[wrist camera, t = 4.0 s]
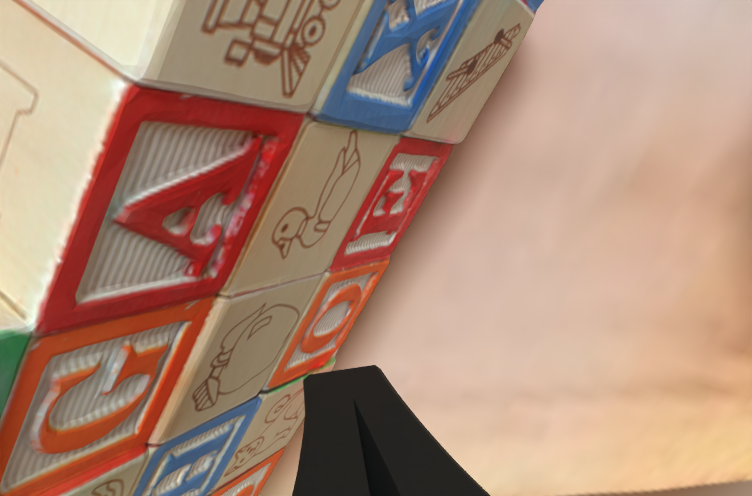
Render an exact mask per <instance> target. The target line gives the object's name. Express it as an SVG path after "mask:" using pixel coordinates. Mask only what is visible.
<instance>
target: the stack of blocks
mask: <svg viewBox="0 0 752 496" xmlns="http://www.w3.org/2000/svg"><path fill="white" fill-rule="evenodd" d="M543 1H544V0H0V496H258V494H259V492H260V491H261V489H262V487H263V486H264V484H265V482H266V480H267V479H268V477H269V475H270V474H271V472H272V470H273V468H274V467H275V465H276V463H277V462H278V460H279V458H280V457H281V455H282V453H283V451H284V449H285V446H286V445H287V444H288V442H289V441H290V439H291V438H292V436H293V435H294V433H295V431H296V430H297V428H298V427H299V425H300V424H301V422H302V421H303V419H304V417H305V404H304V389H303V380H304V379H305V378H306V377H307V376H308V375H310V374H316V373H323V372H330V371H332V369H333V367H334V365H335V362H336V353H337V351H338V349H339V347H340V346H341V345H342V343H343V342H344V341H345V339H346V337H347V335H348V333H349V331H350V329H351V328H352V326H353V324H354V322H355V320H356V318H357V316H358V315H359V313H360V312H361V311H362V309H363V307H364V305H365V304H366V302H367V300H368V298H369V297H370V295H371V293H372V292H373V290H374V288H375V286H376V285H377V283H378V281H379V280H380V278H381V276H382V275H383V273H384V271H385V269H386V268H387V266H388V264H389V261H390V254H391V253H392V251H393V250H394V249H395V247H396V246H397V244H398V242H399V240H400V239H401V237H402V235H403V234H404V232H405V230H406V229H407V227H408V226H409V224H410V222H411V221H412V219H413V217H414V216H415V214H416V212H417V210H418V209H419V207H420V205H421V203H422V202H423V200H424V198H425V196H426V194H427V192H428V190H429V188H430V187H431V185H432V184H433V182H434V181H435V179H436V178H437V176H438V174H439V172H440V170H441V168H442V167H443V165H444V163H445V162H446V160H447V159H448V157H449V155H450V152H451V150H452V146H453V145H454V144H459V143H461V142H462V141H463V140H464V139H465V137H466V135H467V134H468V132H469V130H470V128H471V127H472V125H473V123H474V121H475V120H476V118H477V116H478V115H479V113H480V111H481V109H482V108H483V106H484V104H485V102H486V101H487V99H488V97H489V96H490V94H491V92H492V91H493V89H494V87H495V86H496V84H497V82H498V81H499V79H500V77H501V76H502V74H503V72H504V71H505V69H506V67H507V65H508V64H509V62H510V60H511V59H512V57H513V55H514V54H515V52H516V50H517V49H518V47H519V45H520V44H521V42H522V40H523V38H524V37H525V35H526V33H527V31H528V29H529V27H530V25H531V23H532V21H533V19H534V16H535V13H536V11H537V9H538V8H539V6H540V5H541V3H542V2H543Z"/></svg>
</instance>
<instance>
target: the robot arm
mask: <svg viewBox="0 0 752 496" xmlns="http://www.w3.org/2000/svg"><path fill="white" fill-rule="evenodd" d="M303 389H304V404H305V421H304V433H303V440H302V447H301V453H300V460H299V466H298V472H297V477H296V481H295V486H294V490H293V494H292V496H490V495H489V494H488V493H487V492H486V491H485V490H484V489H483V488H482V487H481V486H480V485H479V484H478V483H477V482H476V481H475V480H474V479H473V478H472V477H471V476H470V475H469V474H468V473H467V472H466V471H465V470H464V469H463V468H462V467H461V466H460V465H459V464H458V463H457V462H456V461H455V460H454V459H453V458H452V457H451V456H450V455H449V454H448V453H447V451H446V450H445V449H444V448H443V447H442V446H441V445H440V444H439V442H438V441H437V440H436V439H435V438H434V437H433V436H432V435H431V433H430V432H429V431H428V430H427V429H426V428H425V427H424V425H423V424H422V423H421V422H420V421H419V419H418V418H417V417H416V416H415V415H414V413H413V412H412V411H411V410H410V408H409V407H408V406H407V405H406V403H405V402H404V401H403V400H402V398H401V397H400V396H399V394H398V393H397V392H396V390H395V389H394V388H393V386H392V385H391V383H390V382H389V381H388V379H387V378H386V376H385V375H384V373H383V372H382V370H381V369H380V368H378V367H377V366H376V365H372V366H365V367H358V368H351V369H344V370H337V371H330V372H323V373H316V374H310V375H308V376H307V377H306V378H305V379H304V380H303Z"/></svg>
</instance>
